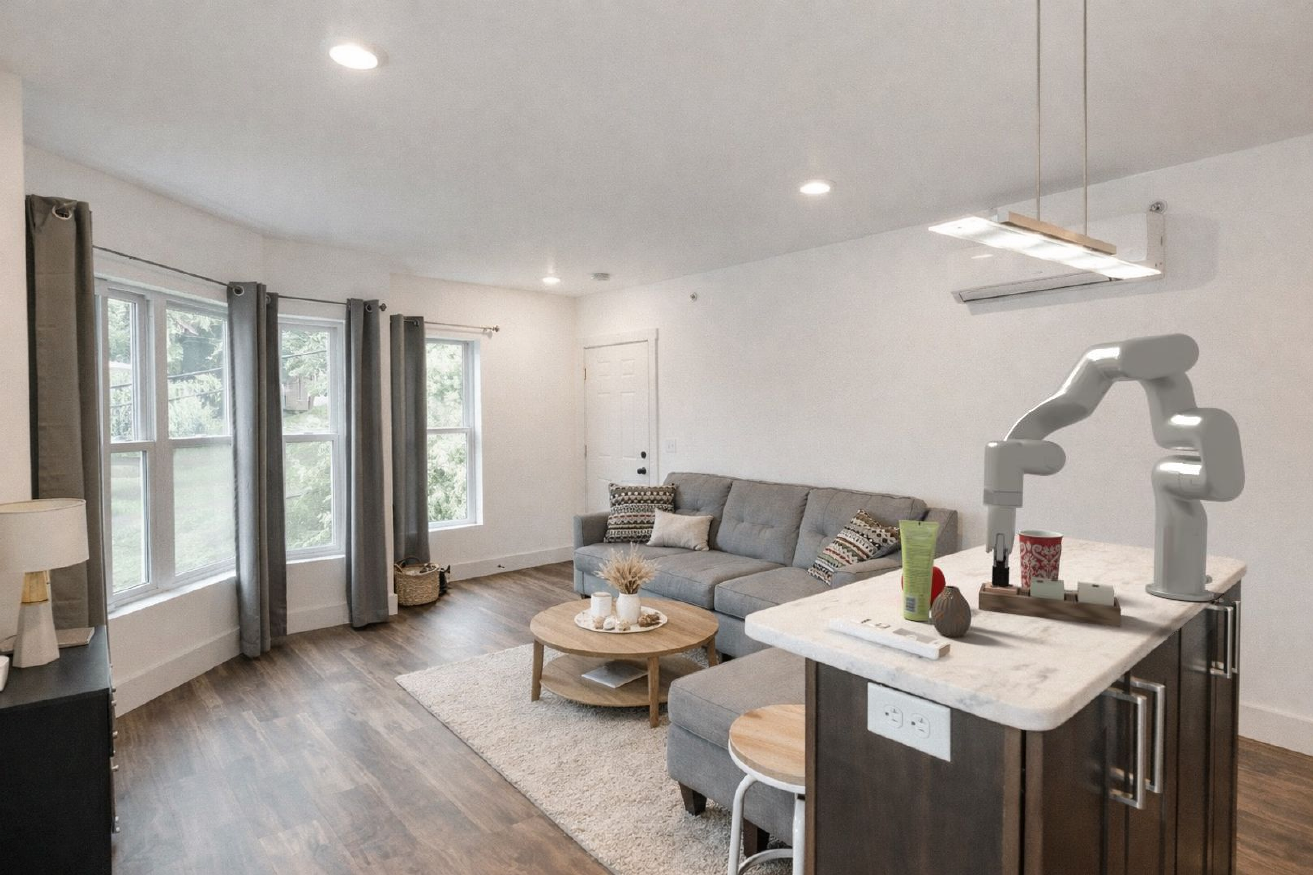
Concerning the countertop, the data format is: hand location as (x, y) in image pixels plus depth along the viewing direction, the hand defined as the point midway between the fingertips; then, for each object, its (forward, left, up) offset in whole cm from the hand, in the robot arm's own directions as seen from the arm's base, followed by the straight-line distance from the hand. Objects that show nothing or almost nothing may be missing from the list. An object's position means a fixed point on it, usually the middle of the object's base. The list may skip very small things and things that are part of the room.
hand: (1000, 585), depth 153 cm
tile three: (0, 0, -3) cm, 3 cm away
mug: (-21, -5, -5) cm, 22 cm away
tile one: (-10, +14, -1) cm, 17 cm away
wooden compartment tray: (-5, +7, -5) cm, 10 cm away
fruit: (+13, -9, -5) cm, 16 cm away
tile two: (-5, +7, -1) cm, 9 cm away
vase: (+25, +9, -5) cm, 27 cm away
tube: (+23, -1, -5) cm, 23 cm away
